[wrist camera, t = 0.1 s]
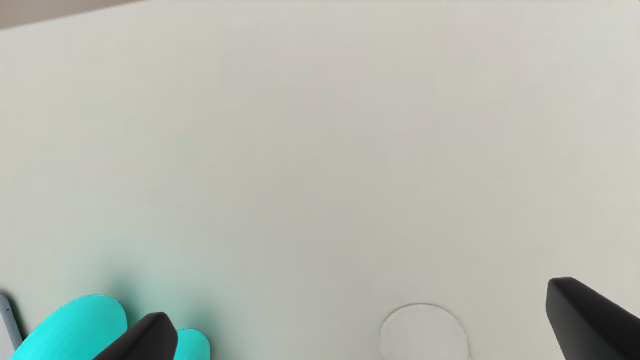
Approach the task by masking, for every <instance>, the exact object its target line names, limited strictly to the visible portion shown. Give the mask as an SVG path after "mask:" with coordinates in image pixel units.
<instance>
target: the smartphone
mask: <svg viewBox="0 0 640 360" xmlns="http://www.w3.org/2000/svg"><path fill="white" fill-rule="evenodd" d="M22 343H23V341H22V338H21V336H20V333H19V330H18V327H17V324H16V321H15V319H14V316H13V313H12V310H11V307H10V305H9V302H8V300H7V298H6V297H5V296H3V295H1V294H0V360H9V359H10V358H11V357H12V355H13V354H14V352H15V351H16V350H17V349H18V347H19V346H20V345H21V344H22Z"/></svg>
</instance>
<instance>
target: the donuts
mask: <svg viewBox="0 0 640 360" xmlns="http://www.w3.org/2000/svg"><path fill="white" fill-rule="evenodd" d="M126 331H127V319H126V314H125V312H124V310H123V308H122V306H121V305H120V304H119V303H118V302H117V301H116V300H115V299H113V298H111V297H109V296H106V295H97V294H96V295H88V296H84V297H81V298H78V299H75V300H73V301H71V302H69V303H67V304H66V305H64V306H62V307H61V308H59V309H58V310H56V311H55V312H54V313H52V314H51V315H50V316H49V317H47V318H46V319H45V320H44V321H43V322H42V323H41V324H39V325H38V326H37V327H36V328H35V329H34V330H33V331H32V332H31V334H30V335H29V336H28V337H27V338H26V339H25V340H24V341H23V343H22V344H21V345H20V346H19V347H18V349H17V350H16V351H15V352H14V354H13V355H12V357H11V358H10V359H9V360H92V359H93V358H94V357H95V356H97V355H98V354H99V353H100V352H101V351H103V350H104V349H105V348H106V347H108V346H109V345H110V344H111V343H112V342H114V341H115V340H116V339H117V338H119V337H120V336H121V335H122V334H123V333H125V332H126ZM177 334H178V345H177V348H176V352H175V356H174V360H209V359H210V345H209V342H208V340H207V338H206V337H205V335H204V334H203V333H201V332H200V331H198V330H195V329H182V330H179V331H177Z"/></svg>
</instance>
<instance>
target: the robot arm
mask: <svg viewBox="0 0 640 360" xmlns="http://www.w3.org/2000/svg"><path fill="white" fill-rule="evenodd" d="M546 312H547V316H548V319H549V321H550V323H551V326H552V328H553V331H554V333H555V335H556V338H557V340H558V343H559V345H560V347H561V350H562V352H563V355H564V357H565V359H566V360H640V319H639V318H637V317H636V316H634V315H633V314H631V313H629V312H628V311H626V310H625V309H623V308H621V307H620V306H618V305H616V304H615V303H613V302H612V301H610V300H608V299H607V298H605V297H604V296H602V295H600V294H599V293H597V292H596V291H594V290H592V289H591V288H589V287H588V286H586V285H584V284H583V283H581V282H580V281H578V280H576V279H574V278H572V277H561V278H552V279H550V280H549V282H548V288H547V298H546ZM177 345H178V334H177V331H176V330H175V328H174V326H173V324H172V323H171V321H170V319H169V317H168V316H167V314H165V313H164V312H158V313H150V314H147V315H146V316H144V317H143V318H142V319H141V320H139V321H138V322H137V323H136V324H135V325H133V326H132V327H131V328H130V329H128V330H127V331H126V332H125V333H123V334H122V335H121V336H120V337H119V338H117V339H116V340H115V341H114V342H112V343H111V344H110V345H109V346H108V347H106V348H105V349H104V350H103V351H101V352H100V353H99V354H98V355H97V356H95V357H94V358H93V359H92V360H174V356H175V352H176V348H177Z"/></svg>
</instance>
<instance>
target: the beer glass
mask: <svg viewBox="0 0 640 360" xmlns="http://www.w3.org/2000/svg"><path fill="white" fill-rule="evenodd" d="M379 347H380V352H381V355H382V359H383V360H470V358H469V348H468V341H467V336H466V333H465V330H464V328H463V326H462V325H461V323H460V322H459V321H458V320H457V319H456V317H454V316H453V315H452V314H451V313H449V312H448V311H446V310H444V309H442V308H440V307H437V306H434V305H429V304H413V305H408V306H405V307H402V308H400V309H398V310H396V311H395V312H393V313H392V314H391V315H390V316H389V317H388V318H387V319H386V320H385V322H384V323H383V325H382V327H381V330H380V334H379Z"/></svg>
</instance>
